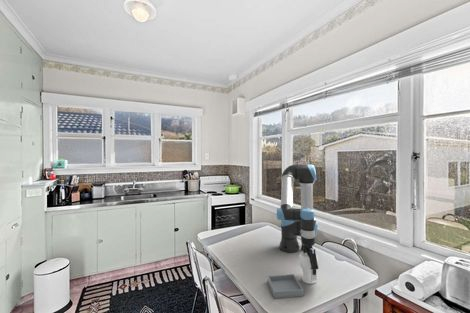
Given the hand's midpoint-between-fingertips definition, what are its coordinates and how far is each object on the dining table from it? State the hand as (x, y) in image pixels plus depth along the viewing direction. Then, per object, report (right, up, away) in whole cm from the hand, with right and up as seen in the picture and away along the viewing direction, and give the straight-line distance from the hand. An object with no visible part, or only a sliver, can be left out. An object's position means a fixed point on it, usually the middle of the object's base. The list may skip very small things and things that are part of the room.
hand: (308, 273), depth 130 cm
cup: (0, -4, 0) cm, 4 cm away
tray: (-15, -4, -7) cm, 17 cm away
